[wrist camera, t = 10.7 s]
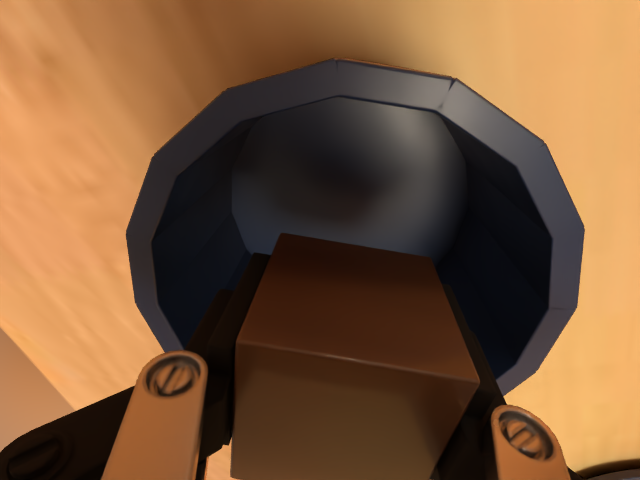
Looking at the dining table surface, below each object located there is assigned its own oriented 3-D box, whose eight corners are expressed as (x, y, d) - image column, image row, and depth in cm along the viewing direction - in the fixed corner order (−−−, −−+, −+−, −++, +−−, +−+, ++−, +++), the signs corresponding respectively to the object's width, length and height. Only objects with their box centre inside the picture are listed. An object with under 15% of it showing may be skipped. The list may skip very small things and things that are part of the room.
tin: (221, 37, 15) (94, 18, 8) (527, 88, 15) (699, 117, 8) (219, 287, 22) (149, 408, 14) (434, 323, 22) (478, 464, 14)
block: (280, 231, 10) (234, 341, 6) (431, 256, 10) (483, 383, 6) (268, 343, 12) (229, 479, 8) (394, 364, 12) (414, 510, 8)
